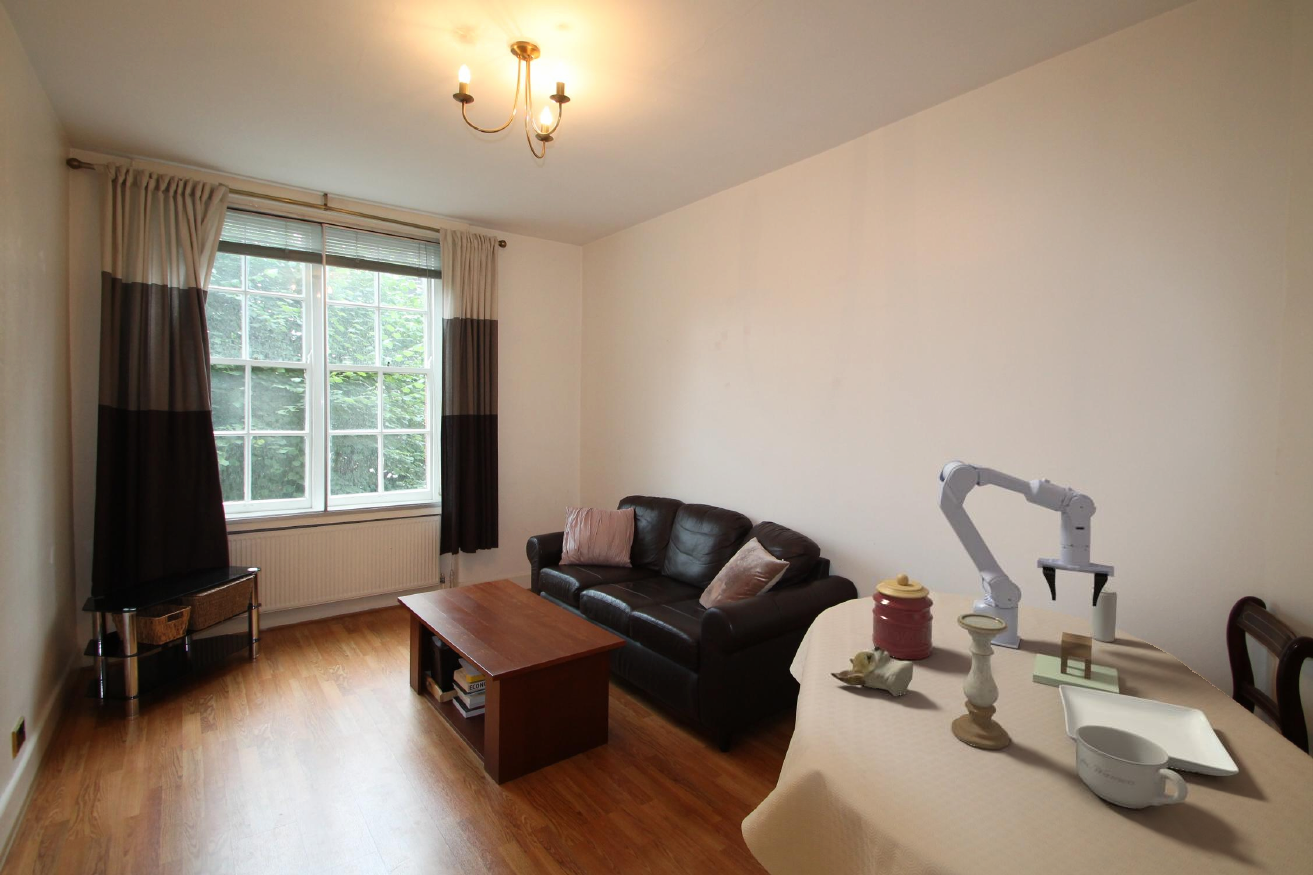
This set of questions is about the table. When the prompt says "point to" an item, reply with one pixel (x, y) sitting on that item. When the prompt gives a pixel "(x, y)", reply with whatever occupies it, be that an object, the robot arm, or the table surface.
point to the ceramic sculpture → (878, 671)
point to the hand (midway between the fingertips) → (1073, 602)
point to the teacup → (1125, 767)
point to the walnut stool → (1076, 651)
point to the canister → (902, 618)
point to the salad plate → (1151, 727)
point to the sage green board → (1074, 674)
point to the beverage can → (1104, 615)
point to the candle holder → (981, 685)
